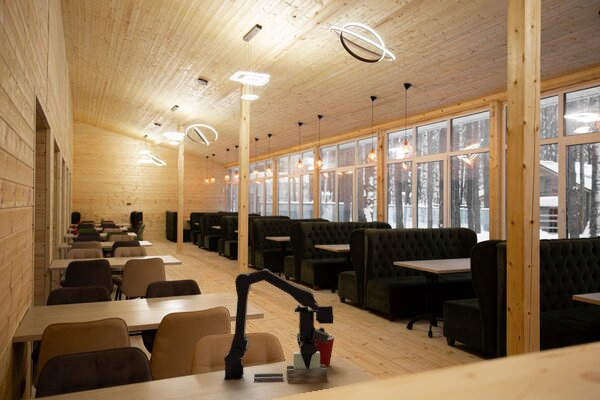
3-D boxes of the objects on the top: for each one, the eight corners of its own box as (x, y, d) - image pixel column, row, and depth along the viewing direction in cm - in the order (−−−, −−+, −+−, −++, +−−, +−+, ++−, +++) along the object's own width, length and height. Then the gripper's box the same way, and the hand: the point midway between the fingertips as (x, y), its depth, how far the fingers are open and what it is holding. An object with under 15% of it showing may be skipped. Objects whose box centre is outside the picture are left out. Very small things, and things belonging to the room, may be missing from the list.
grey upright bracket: (253, 381, 168) (253, 378, 169) (254, 376, 174) (254, 373, 174) (283, 380, 169) (283, 377, 169) (282, 375, 175) (282, 372, 175)
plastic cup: (328, 359, 195) (328, 331, 196) (340, 367, 185) (339, 337, 186) (305, 362, 191) (305, 334, 192) (316, 370, 181) (315, 340, 182)
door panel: (293, 375, 171) (293, 353, 172) (293, 373, 174) (293, 351, 174) (320, 374, 172) (320, 353, 172) (319, 372, 174) (319, 351, 175)
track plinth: (287, 382, 167) (287, 372, 167) (286, 373, 177) (286, 363, 177) (327, 381, 168) (327, 371, 168) (324, 372, 178) (324, 362, 178)
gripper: (330, 328, 165) (330, 372, 164) (324, 317, 183) (324, 356, 183) (300, 329, 164) (300, 372, 163) (297, 318, 183) (296, 357, 182)
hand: (306, 364), depth 173 cm, fingers open, 9 cm apart
